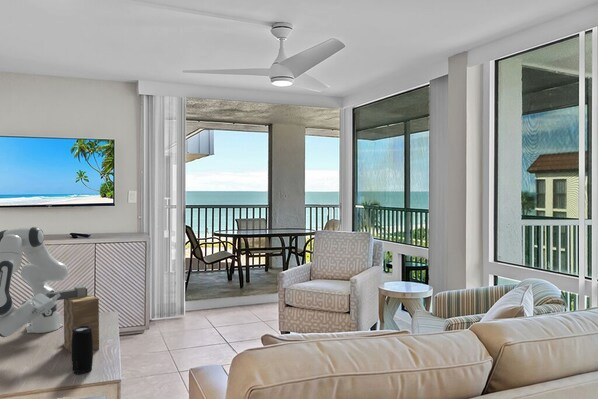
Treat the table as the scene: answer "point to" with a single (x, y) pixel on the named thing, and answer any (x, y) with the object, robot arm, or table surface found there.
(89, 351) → the portable speaker
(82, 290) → the dark grey square bar
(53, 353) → the table surface
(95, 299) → the panel block
